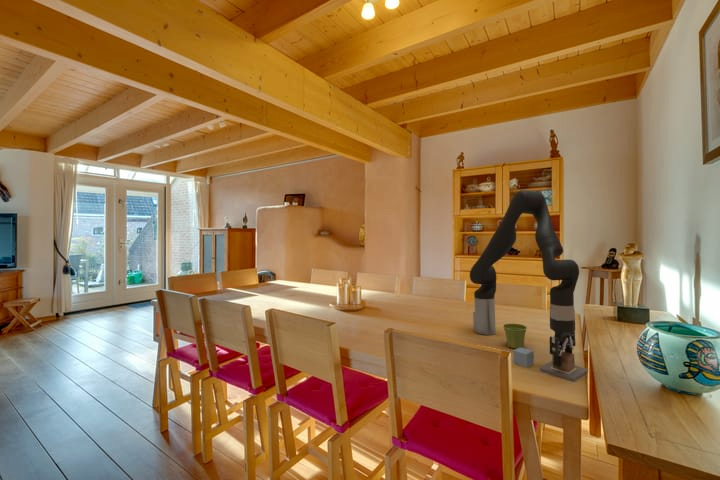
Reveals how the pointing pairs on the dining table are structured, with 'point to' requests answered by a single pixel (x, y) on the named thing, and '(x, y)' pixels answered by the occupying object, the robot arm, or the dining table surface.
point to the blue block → (523, 357)
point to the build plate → (571, 375)
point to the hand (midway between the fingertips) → (563, 362)
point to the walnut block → (565, 362)
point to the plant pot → (515, 335)
